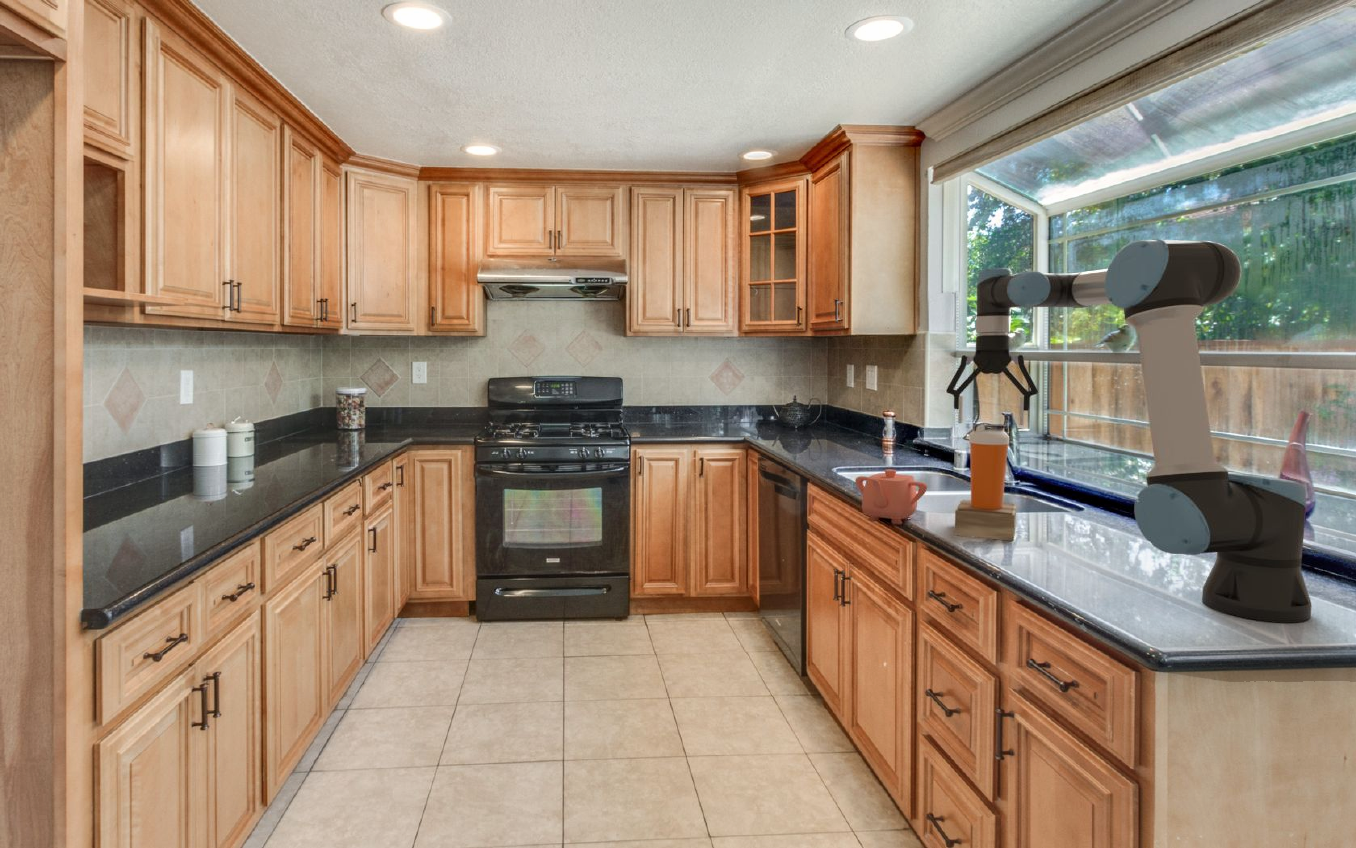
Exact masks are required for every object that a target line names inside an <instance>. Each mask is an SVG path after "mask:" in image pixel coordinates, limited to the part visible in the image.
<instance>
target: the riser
mask: <svg viewBox="0 0 1356 848" xmlns="http://www.w3.org/2000/svg"><path fill="white" fill-rule="evenodd" d="M954 513H955V514H954V536H957V535H958V537H967V536H974V537H973V538H978V537H980V539H988V540H989V539H990V540H1001V541H1011V542H1012V541H1013V542H1014V541H1015V534H1016V524H1017V523H1016V521H1017V505H1016V504H1015V503H1010V502H1009V503H1007V502H1003V505H1002V508H1001V509H993V510H991V509H979V508H975V507H972V506H971V499H970V500H969V499H968V500H967V499H962V500H960V501H959V503H958V505H957V507H956V509H955V512H954Z"/></svg>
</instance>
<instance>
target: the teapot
mask: <svg viewBox="0 0 1356 848" xmlns="http://www.w3.org/2000/svg"><path fill="white" fill-rule="evenodd" d="M864 481H865V484H864ZM855 485H856V487H857V489H858V490H859V492H860V493H861V494H862V501H861V510H862V513H863V515H864V516H869V518H868V519H867V521H869V522H879V519H880V518H884V519H891V524H893V525H902V524H903V521H902V520H904V519H908V518H911V516H913V514H915V512H916V511H917V508H918V500H920V498H922V497H923V496H924V495H925V493H926V492H927V490H928V485H927V484H926V483H925V482H921V481H915V478H914V476H913V475H909V474H908V475H907V474H900V473H899V474H897V470H896V469H890V468H889V469H888V468H887V469H885V470H884V472H881V473H875V474H873V475H870V476H862V475H861V476H857V477H855ZM916 487H918V491H917V488H916ZM904 521H905V520H904Z"/></svg>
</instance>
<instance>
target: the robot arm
mask: <svg viewBox="0 0 1356 848" xmlns="http://www.w3.org/2000/svg"><path fill="white" fill-rule="evenodd" d="M1241 278H1242V265H1241V262H1240V260H1239V258H1238V256H1237V254H1236V253H1234V251H1233V250H1232V249H1230V248H1229V247H1228V246H1226V245H1224V244H1222V243H1219V242H1214V241H1209V240H1180V239H1179V240H1176V239H1160V238H1152V239H1146V240H1145V239H1144V240H1143V239H1142V240H1141V239H1140V240H1135V241H1132V242H1129V243H1127V244H1126V245H1124V246H1123V247H1122V248H1120V249H1119V250H1118V251H1117V253H1115V255H1114V256H1113V258H1112V261H1111V263H1110V264H1109V265H1108V267H1107V268H1104V269H1097V270H1090V271H1089V270H1088V271H1080V272H1075V273H1053V272H1052V273H1051V272H1050V273H1048V272H1047V273H1042V272H1040V271H1038V270H1031V271H1030V270H1029V271H1028V270H1027V271H1026V270H1025V271H1021V272H1018V273H1013V272H1012V270H1011V269H1010V268H1008V267H991V268H983V269H981V270H980V271H979V272H978V275H977V284H976V321H975V322H976V323H975V324H976V325H975V327H976V328H975V329H976V330H975V333H976V334H978V335H977V336H976V337H975V354H974V356H969V355H966V354H964V355H962V356H961V358H960V365H959V367H958V368H957V370H956V372H955V374H954V376H952V377H953V378H952V379H951V381H950V382H949V385H948V386H947V388H946V393H947V394H950V395H952V396H953V408H954V410H958V416H957V417H958V420H957V423H958V424H963V422H964V421H963V419H964V418H963V417H964V415H963V414H964V395H961V394H962V393H963V392H964V391H965V390H966V389H967V388H968V386H969V385H970V384H971V383H972V382H973V381H974V380H975V379H976V378H977V377H978V376H979V374H981V373H982V374H983V375H990V374H994V375H999V374H1002V373H1003V374H1004V375H1005V376H1006V378H1008V379H1009V380H1010V382H1011V383H1012V384H1013V385H1014V386H1015V387H1016V389H1018V391H1019V392H1020V393H1021V394H1022V396H1020V397H1019V398H1020V399H1019V402H1020V403H1019V424H1018V425H1019V426H1024V415H1025V414H1024V413H1025V411H1027V412H1028V411H1029V409H1030V397H1031V396H1034V395H1037V394H1038V393H1039V390H1038V387H1037V386H1036V384H1035V382H1034V380H1033V379H1032V377H1031V375H1030V372H1029V371H1028V368H1027V367H1026V365H1025V358H1024V355H1023V354H1018V355H1012V356H1011V353H1010V350H1011V349H1010V347H1011V337H1010V335H1008V334H1009V333H1011V315H1012V314H1011V313H1012V312H1011V310H1012V308H1075V309H1082V308H1090V307H1093V306H1101V305H1102V306H1103V305H1104V306H1105V305H1112V306H1114V307H1117V308H1118V309H1122V310H1123V314H1124V315H1123V316H1124V321H1125V324H1126V325H1128V326H1129V327H1131V328H1133V329H1134V330H1135V331H1136V335H1137V336H1136V337H1137V344H1138V350H1139V358H1140V359H1139V360H1140V364H1141V372H1142V373H1141V374H1142V379H1143V387H1144V394H1145V401H1146V410H1147V417H1148V423H1149V430H1150V438H1151V444H1152V452H1153V458H1154V459H1153V460H1154V466H1153V467H1152V469H1150V471H1149V472H1148V473H1147V474H1146V475H1145V476H1146V484H1147V486H1146V487H1144V488H1142V490H1140V492H1138V494H1137V499H1136V500H1135V501H1134V511H1133V513H1134V518H1135V521H1136V525H1137V527H1138V528H1139V531H1140V533H1141V534H1142V536H1143V537H1144V538H1145V539H1146V540H1147V541H1149V542H1150V543H1151V545H1152V546H1153V547H1154V548H1156V549H1158V550H1160V551H1161V552H1164V553H1167V554H1171V555H1187V556H1190V555H1191V556H1196V555H1200V554H1211V553H1216V560H1215V562H1214V564H1213V565H1212V568H1211V570H1210V572H1209V574H1208V576H1207V577H1206V580H1205V583H1204V584H1203V587H1202V595H1201V601H1202V602H1203V603H1204V604H1205V605H1206V606H1208V607H1210V608H1212V609H1214V610H1217V611H1220V612H1222V613H1224V614H1229V615H1232V616H1236V617H1241V618H1246V619H1250V620H1256V621H1257V620H1258V621H1263V622H1275V623H1300V622H1305V620H1306V621H1308V620H1310V618H1311V616H1312V602H1311V598H1310V596H1309V592H1308V589H1307V586H1306V583H1305V579H1304V576H1303V572H1302V559H1303V548H1304V537H1305V525H1306V514H1307V510H1308V504H1307V490H1306V487H1305V486H1304V485H1303V484H1302V483H1299V482H1298V481H1295V480H1290V479H1284V478H1283V479H1282V478H1277V477H1272V476H1265V475H1259V474H1251V473H1245V472H1234V471H1228V469H1227V468H1226V467H1224V466H1223V465H1221V464H1220V463H1218V462H1217V460H1216V459H1215V453H1214V446H1213V439H1212V432H1211V425H1210V418H1209V417H1210V416H1209V413H1208V411H1209V410H1208V405H1207V399H1206V392H1205V386H1204V385H1205V384H1204V377H1203V371H1202V362H1201V356H1200V351H1199V344H1198V337H1197V331H1196V324H1195V322H1196V320H1197V318H1198V317H1199V316H1200V315H1201V314H1202V312H1203V311H1204V308H1205V307H1211V306H1214V305H1217V304H1220V303H1222V302H1223V301H1225V300H1226V299H1228V298H1229V297H1230V296H1231V295H1232V294H1233V293H1234V291H1236V289H1237V287H1238V285H1239V284H1240V281H1241ZM971 362H973V363H974V364H975V366H976V368H975V369H974V371H972V373H971V374H970V375H969V376H968V377H967V378H966V379H965V380H964V381H963V382H962V384H960V385H959V387H958V388H957V389H955V387H956V386H957V384H958V382H959V380H960V378H961V376H962V375H963V373H964V371H965V370H966V368H967V366H968V365H970V364H971ZM1011 362H1013V363H1014V364H1015V365H1016V366H1017V365H1018V367H1019V369H1020V371H1021V373H1022V375H1023V378H1024V379H1025V381H1026V383H1027V385H1028V387H1029V390H1027V389H1026V387H1025V386H1024V385H1023V384H1022V382H1020V381H1019V380H1018V378H1017V377H1016V376H1015V375H1014V374H1013V373H1012V372H1011V370H1010V369H1009V368H1008V366H1009V365H1010V363H1011Z"/></svg>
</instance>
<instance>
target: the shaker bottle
mask: <svg viewBox="0 0 1356 848" xmlns="http://www.w3.org/2000/svg"><path fill="white" fill-rule="evenodd" d="M1005 427H1007V424H1001V423H1000V424H999V423H994V424H984V425H982V424H981V423H975V424H974V425H973V426H972V432H971V433H970V434H969V441H968V442H969V445H970V450H969V451H970V457H969V459H970V462H969V463H970V500H971V506H972V507H975V508H979V509H991V510H993V509H1001V508H1002V505H1003V503H1004V494H1005V493H1004V492H1005V483H1006V482H1005V481H1006V470H1007V460H1008V450H1009V449H1008V447H1009V445H1010V436H1009V434H1008V433H1007V432H1006V431H1005Z"/></svg>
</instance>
